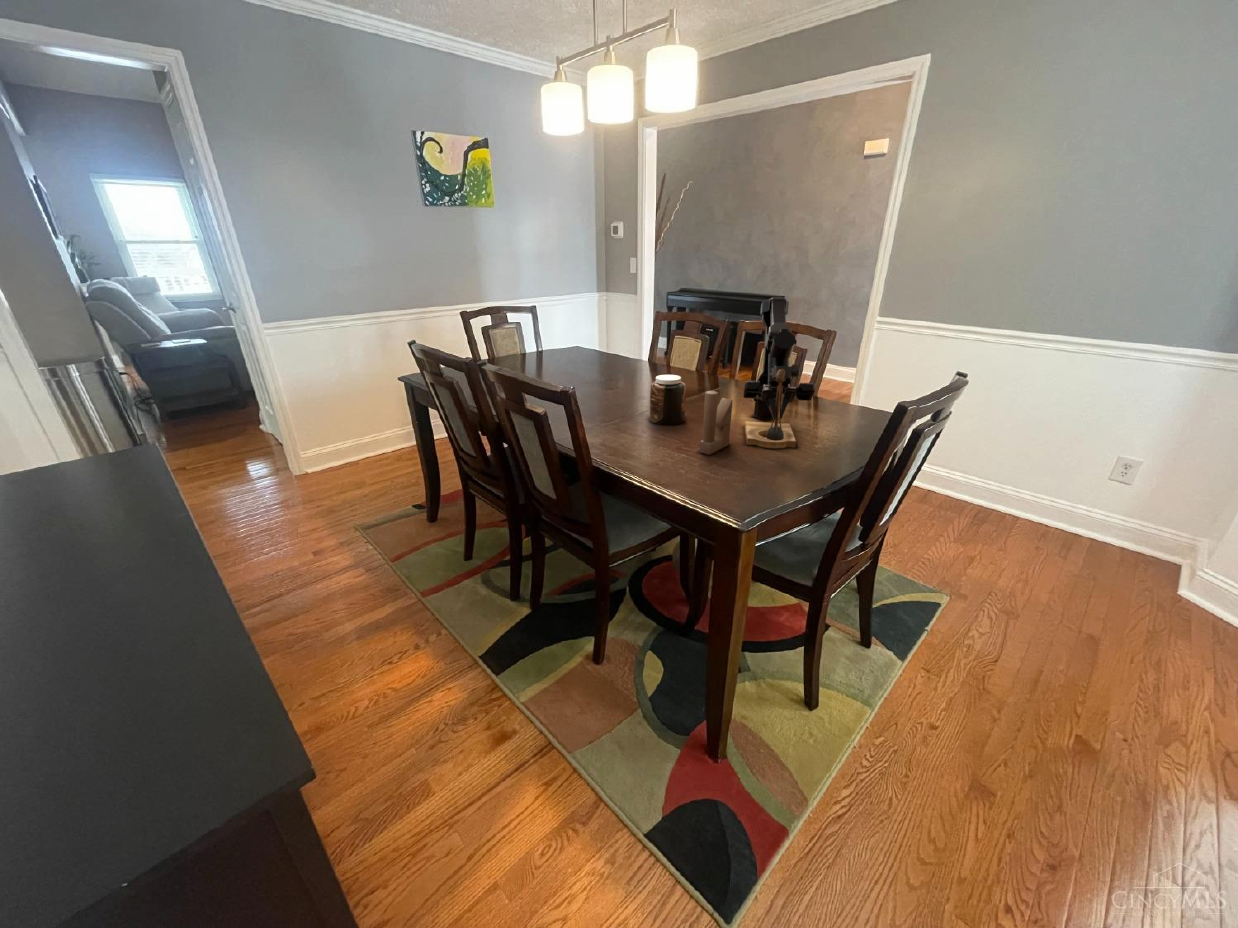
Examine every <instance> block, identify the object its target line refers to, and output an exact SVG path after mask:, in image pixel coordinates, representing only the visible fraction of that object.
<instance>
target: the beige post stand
mask: <svg viewBox="0 0 1238 928" xmlns="http://www.w3.org/2000/svg"><path fill="white" fill-rule="evenodd" d="M718 401H719V392H718V391H715V390H707V391H705V393H704V407H703V408H704V409H703V422H702V437H701V438H702V440H700V442H699V453H702V454H705V455H708V456H711V455H712V454H714V453H716V452H718V451H719V450H722V449H724V448H725V447H727V446H729V444H730V434H731V433H730V432H731V423H732V411H733V399H729V398H724V397H722V398H721V399H720V401H719V402H718Z"/></svg>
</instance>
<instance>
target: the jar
mask: <svg viewBox="0 0 1238 928" xmlns="http://www.w3.org/2000/svg"><path fill="white" fill-rule="evenodd" d="M686 387H687V386H686V383H685V382H683V381H682V376H680V375H676V374H660V375H656V376H655V381H652V382H651V383H650V391H649V420H650V422H651V423H653V424H657V425H663V426H673V425H674V426H675V425H679V424H683V422H685V417H686V398H687V395H686V394H687V388H686Z"/></svg>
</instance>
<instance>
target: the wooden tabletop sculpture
mask: <svg viewBox="0 0 1238 928" xmlns="http://www.w3.org/2000/svg"><path fill="white" fill-rule="evenodd" d="M785 374H786V371H785V370H784V369H779V370H778V371H777V373H776V376H774V377H773V380H774V381H775V380H776V381H777V382H779V385H778V386H777V395H776V404H775V413H776V416H775V418H773V419H772V421H771V423H772V425H771V428H769V429H768V431H767V434H766V436H765V438H767V439H769V440H774V441H778V440H782V439H784V433H783V430H782V428H781V423H782V419H781V418H780V413H781V405H782V399H783V394H782V392H783V386H782V382H784V381H785V380H786V377H785ZM780 397H781V398H780ZM773 423H775V425H774V426H773ZM778 423H780V427H779V426H778Z"/></svg>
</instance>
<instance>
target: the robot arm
mask: <svg viewBox="0 0 1238 928" xmlns="http://www.w3.org/2000/svg"><path fill="white" fill-rule="evenodd" d="M789 306H790V301H788V300H787V298H785V297H771V298H769V299H767V300H763V301H762V302H761V305H760V316H761V322H762V324H763V326H764V328H765V337H764V348H763V349H764V351H763V363H762V372H761V374H760V375H759V377H758V378H757V380H746V381H745V382H744V387H743V399H753V402H754V409H753V414H751V415H750V416H751V417H752V418H754V419H759V420H762V421H767V422H768V421H769V420H773V418H774V419H775V416H776V413H775V404H776V395H777V386H778V385H779V382H777V381H776V380H775V381H774V380H773V377H774V376H776V373H777V371H778V370H779V369H784V370H785V371H786V374H785V377H786V380H785V381H784V382H782V386H783V392H782V402H781V413H780V418H781V420H782V419H783V416H784V414H785V411H786V408H787V407H788V405H789V403H793V402H794V400H795V398H796V399H797V400H798V401H803V402H806V401H807V402H809V401H812V398H813V397H814V395H815V392H816V386H815V384H814V383H813V382H799V384H798V386H790V385H791V383H792V378H797V377H799V375H800V364H791V366H790V357H792V354H793V350H794V348H795V346H797V342H798V340H797V339H796V337H795V335H794V334H793V333H792V328H791V326H789V325H788V324H787V317H786V316H788V314H789ZM780 398H781V397H780Z"/></svg>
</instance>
